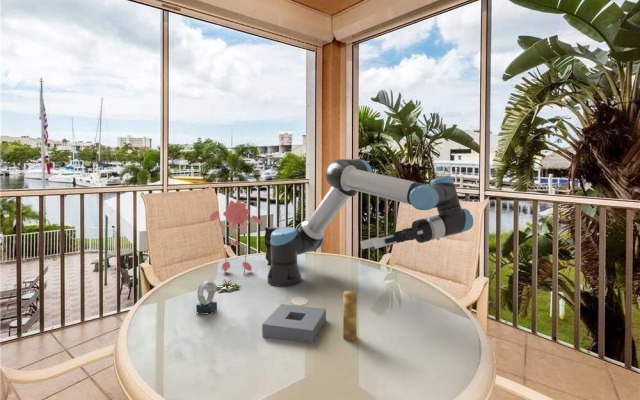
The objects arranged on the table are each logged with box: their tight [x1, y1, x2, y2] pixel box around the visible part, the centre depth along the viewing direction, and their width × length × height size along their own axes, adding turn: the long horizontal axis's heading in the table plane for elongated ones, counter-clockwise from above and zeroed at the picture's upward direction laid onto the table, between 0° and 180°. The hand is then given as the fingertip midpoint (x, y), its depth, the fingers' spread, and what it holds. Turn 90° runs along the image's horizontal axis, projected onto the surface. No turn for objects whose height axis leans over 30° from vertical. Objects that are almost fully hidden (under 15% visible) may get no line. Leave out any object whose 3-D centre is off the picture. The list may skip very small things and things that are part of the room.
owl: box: [264, 226, 286, 267], centre depth 185 cm, size 13×13×20 cm
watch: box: [195, 280, 218, 315], centre depth 127 cm, size 6×8×11 cm
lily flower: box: [216, 278, 241, 293], centre depth 151 cm, size 12×12×5 cm
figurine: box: [209, 199, 263, 276], centre depth 173 cm, size 15×26×35 cm, turn 86°
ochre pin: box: [342, 290, 358, 342], centre depth 107 cm, size 4×4×14 cm
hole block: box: [261, 303, 327, 344], centre depth 114 cm, size 16×16×4 cm
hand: (367, 244), depth 114 cm, fingers open, 13 cm apart
